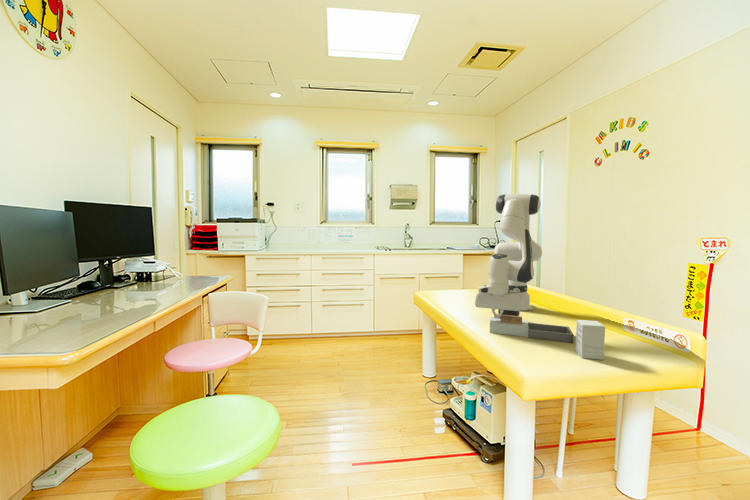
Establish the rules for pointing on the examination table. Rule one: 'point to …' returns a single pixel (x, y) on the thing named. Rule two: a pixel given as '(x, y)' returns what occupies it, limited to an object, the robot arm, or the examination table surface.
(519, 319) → the tile
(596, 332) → the supplement box
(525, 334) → the pale grey flat block
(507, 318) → the tile
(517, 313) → the pump dispenser
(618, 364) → the examination table surface
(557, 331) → the tray
